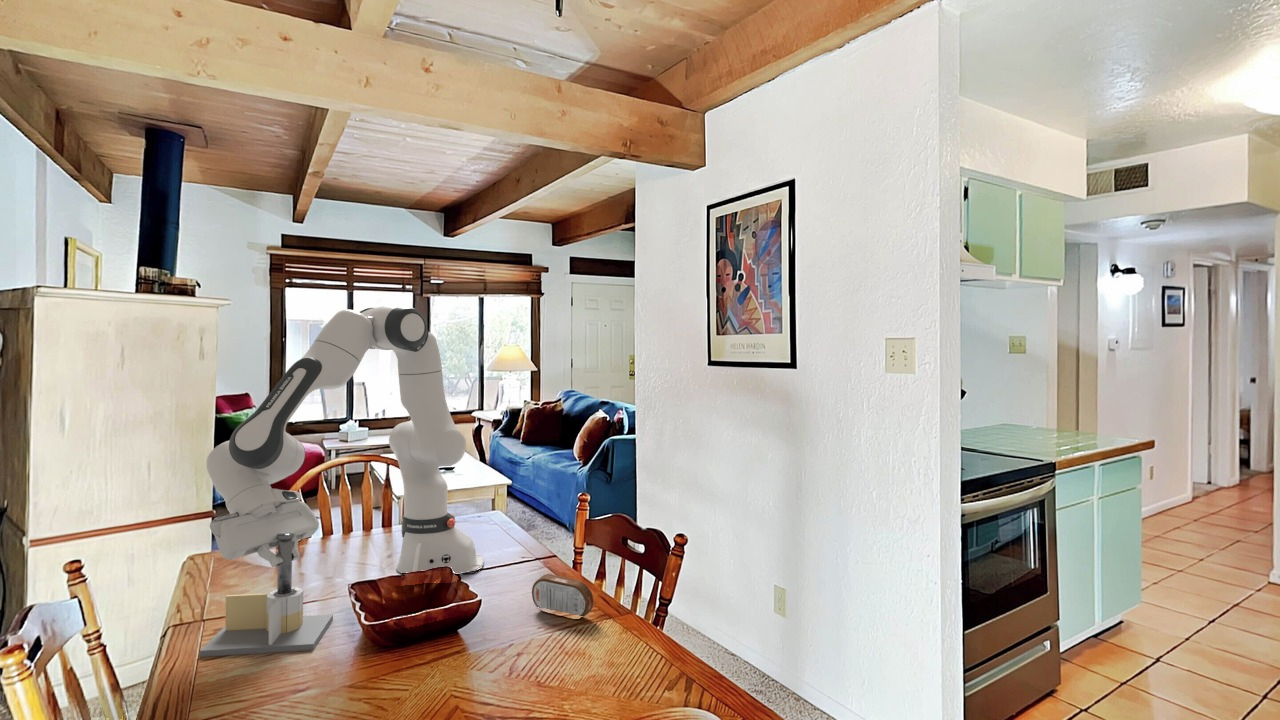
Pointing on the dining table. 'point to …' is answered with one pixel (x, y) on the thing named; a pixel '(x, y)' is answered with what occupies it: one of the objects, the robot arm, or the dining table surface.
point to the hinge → (266, 625)
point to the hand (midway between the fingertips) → (287, 561)
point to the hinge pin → (285, 562)
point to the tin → (562, 595)
